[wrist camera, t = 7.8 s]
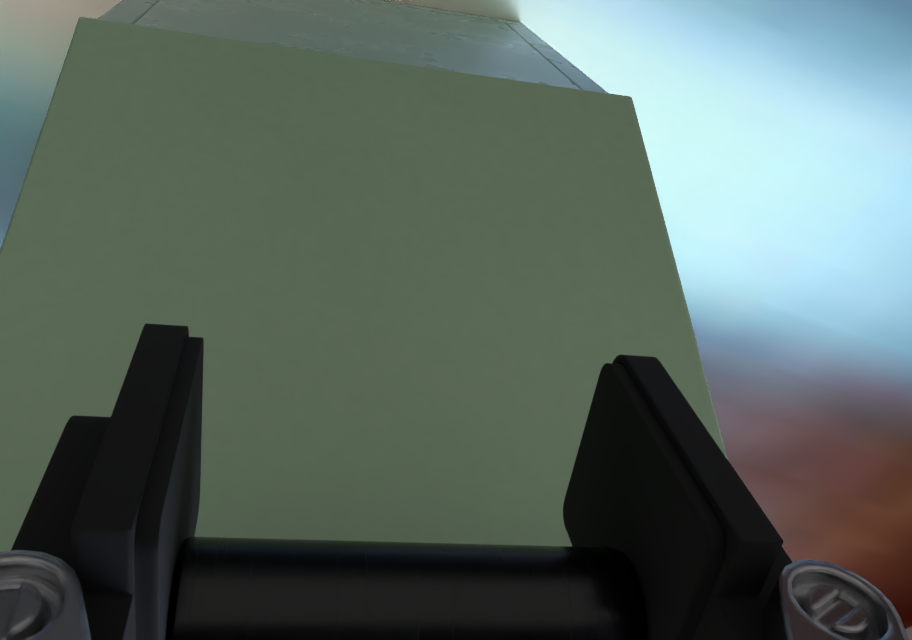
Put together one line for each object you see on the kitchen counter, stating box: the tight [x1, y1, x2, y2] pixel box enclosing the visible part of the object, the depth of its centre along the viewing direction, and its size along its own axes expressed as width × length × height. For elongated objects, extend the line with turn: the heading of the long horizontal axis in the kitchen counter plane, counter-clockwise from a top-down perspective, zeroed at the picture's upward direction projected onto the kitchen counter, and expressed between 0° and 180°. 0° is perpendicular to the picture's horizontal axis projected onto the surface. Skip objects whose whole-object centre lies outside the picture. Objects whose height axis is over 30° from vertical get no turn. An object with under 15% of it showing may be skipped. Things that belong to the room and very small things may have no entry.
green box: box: [98, 0, 609, 94], centre depth 32 cm, size 16×14×13 cm
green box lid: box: [0, 17, 728, 640], centre depth 15 cm, size 17×14×5 cm
